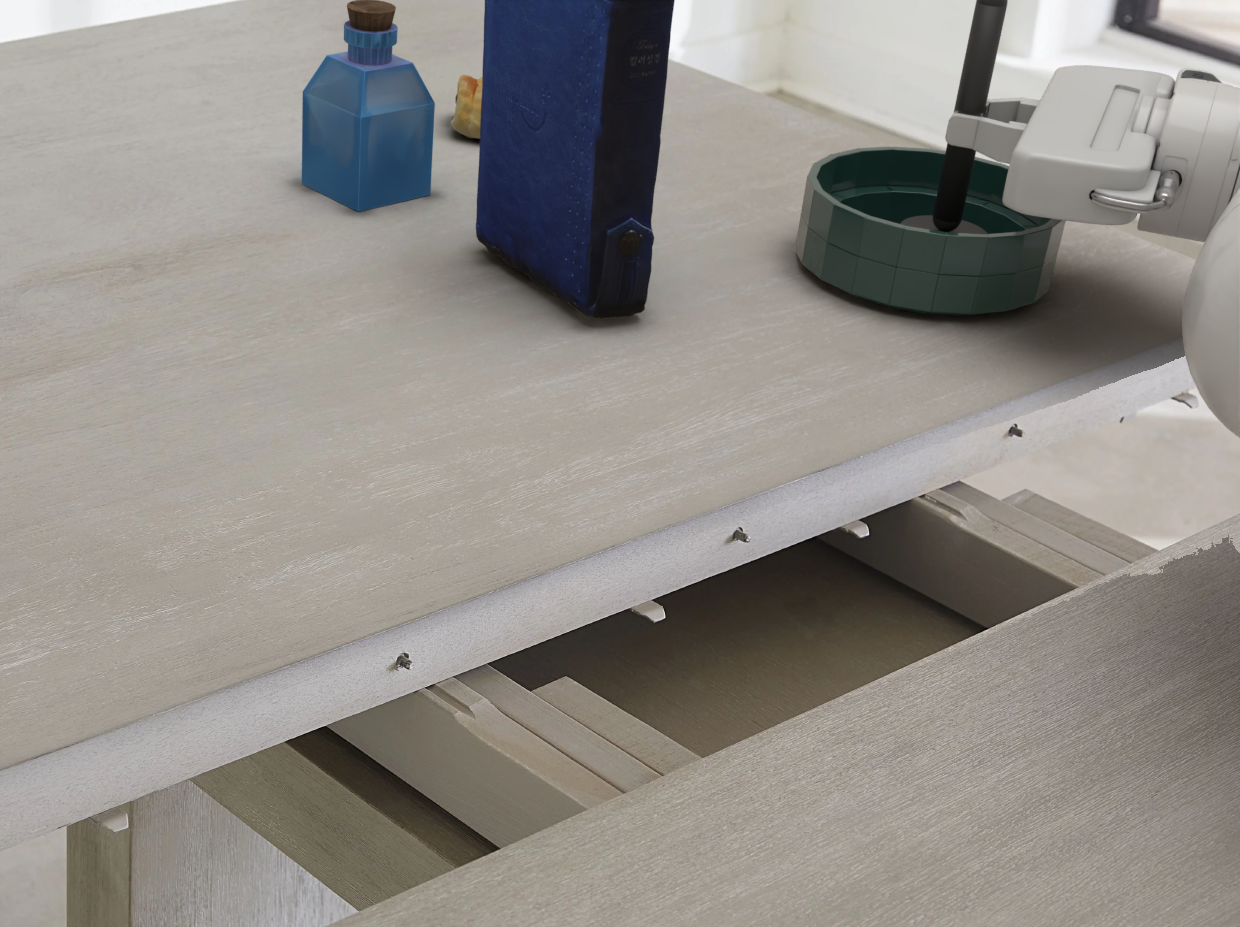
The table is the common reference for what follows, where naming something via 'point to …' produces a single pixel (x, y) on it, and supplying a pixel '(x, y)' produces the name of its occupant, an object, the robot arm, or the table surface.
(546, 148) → the book
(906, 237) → the bowl
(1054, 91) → the robot arm
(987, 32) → the black stand
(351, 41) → the perfume bottle
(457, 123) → the pastry
